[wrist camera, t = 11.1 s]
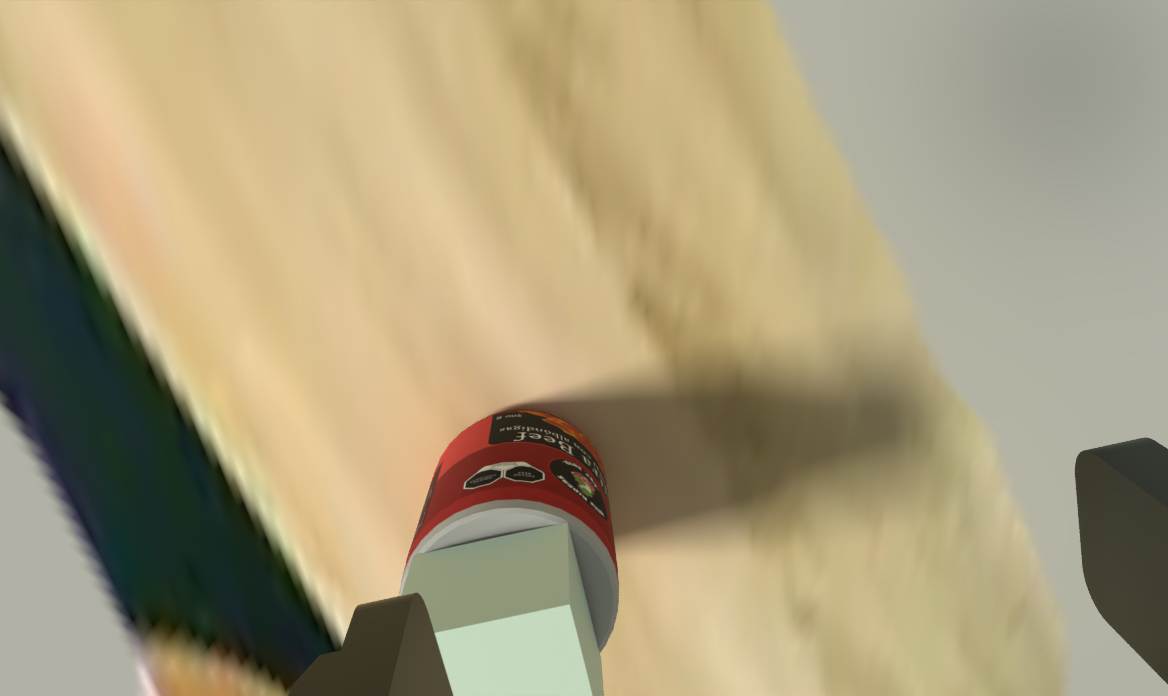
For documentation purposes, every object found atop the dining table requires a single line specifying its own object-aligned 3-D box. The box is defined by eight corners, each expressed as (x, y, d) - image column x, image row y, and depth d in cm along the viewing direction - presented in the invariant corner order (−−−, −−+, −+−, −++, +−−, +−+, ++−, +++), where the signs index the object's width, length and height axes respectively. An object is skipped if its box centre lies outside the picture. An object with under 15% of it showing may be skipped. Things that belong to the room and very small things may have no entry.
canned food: (640, 480, 46) (664, 603, 35) (518, 591, 47) (507, 741, 37) (521, 368, 44) (510, 461, 34) (399, 485, 46) (351, 611, 35)
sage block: (413, 555, 35) (387, 643, 29) (567, 522, 34) (569, 604, 29) (452, 689, 36) (435, 795, 31) (600, 658, 36) (608, 760, 31)
